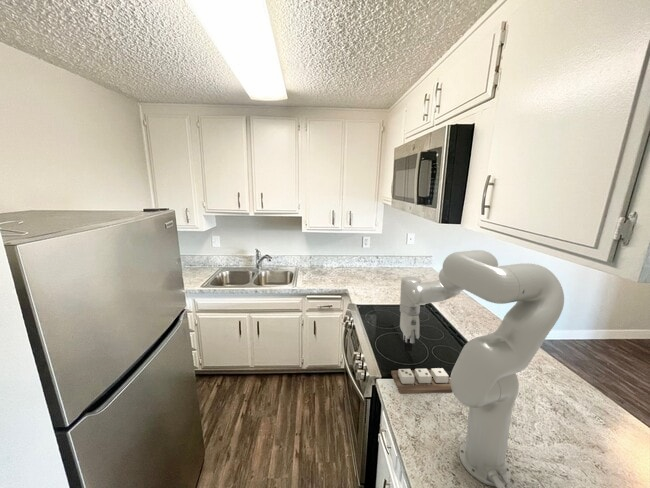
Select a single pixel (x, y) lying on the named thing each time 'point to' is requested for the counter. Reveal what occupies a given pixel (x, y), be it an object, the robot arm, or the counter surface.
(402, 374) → the white square block
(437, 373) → the keypad button
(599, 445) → the counter surface
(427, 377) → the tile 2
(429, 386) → the keypad board
